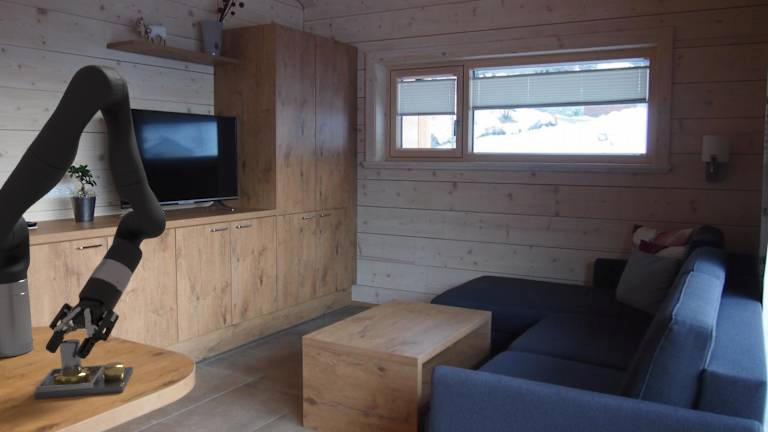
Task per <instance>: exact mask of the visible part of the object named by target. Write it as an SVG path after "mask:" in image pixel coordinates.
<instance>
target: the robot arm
mask: <svg viewBox="0 0 768 432" xmlns="http://www.w3.org/2000/svg"><path fill="white" fill-rule="evenodd" d="M129 93H130V92H129V86H128V83H127V80H126V78H125V76H124V75H123V74H122V72H121V71H119V70H118V69H116V68H115V67H111V66H107V65H100V64H99V65H97V64H89V65H84V66H82V67H81V68H79V69H78V70H76V72H75V73H74V75H73V76H72V78H71V79H70V81H69V83H68V85H67V87H66V89H65V91H64V92H63V94H62V96H61V99H60V101H59V102H58V104H57V106H56V108H55V109H54V111H53V112H52V113H51V115H50V117H49V118H48V119H47V121H46V122H45V124H44V125H43V126H42V128H41V129H40V130H39V132H38V134H37V135H36V136H35V138H34V139H33V140H32V142H31V143H30V145H29V146H28V147H27V149H26V151H25V152H24V153H23V155H22V156H21V158H20V160H19V161H18V163H17V164H16V165H15V167H14V169H13V170H12V172H11V173H10V174H9V176H8V177H7V178H6V180H5V182H4V183H3V184H2V186H1V187H0V358H10V357H15V356H20V355H23V354H26V353H29V352H31V351H32V350H33V349H34V338H33V325H32V314H31V302H30V290H29V279H28V271H29V267H30V264H31V245H30V243H31V242H30V239H31V238H30V231H29V226H28V223H27V221H26V218H25V217H24V214H25V213H26V212H27V211H28V210H29V209H30V208H31V207H33V206H34V205H35V204H36V203H37V202H39V201H40V200H41V199H42V198H44V197H45V196H47V195H48V194H49V193H51V191H52V190H53V189H54V188H55V187H56V186H58V184H59V183H60V182H61V181H62V179H63V178H64V177H65V176H66V174H67V173H68V171H69V170H70V168H71V167H72V165H73V164H74V162H75V159H76V157H77V155H78V151H79V150H78V149H79V145H80V141H81V138H82V137H81V136H82V135H83V132H84V131H85V129H86V128H87V126H88V125H89V124H90V122H91V121H92V119H93V118H94V117H95V116H96V115H97V113H98V112H99V111H100V113H101V116H102V117H103V121H104V123H105V128H106V134H107V158H108V159H107V160H108V166H109V171H110V175H111V179H112V183H113V185H114V188H115V192H116V194H117V196H118V198H119V199H120V200H121V201H124V202H127V203H129V206H130V207H131V209H132V210H130V211H129V212H127V213H125V215H123V217H122V218H121V219H120V221H119V223H118V225H117V227H116V231H115V233H114V236H113V240H112V244H111V245H110V247H109V248H108V249H107V252H106V253H105V254H104V256H103V257H102V259H101V261H100V262H99V263H98V264H97V266H96V267H95V268H94V270H93V271H92V272H91V274H90V276H89V278H88V279H87V280H86V283H84V286H83V287H82V289H81V291H80V292H79V293H78V302H77V303H76V305H74V306H73V305H70V304H69V303H67V302H65V303H64V304H63V305H62V306H61V308H60V310H59V311H58V312H57V314H56V315H55V316H54V318H53V320H52V321H51V322H50V324H49V325H48V327H49V328H50V329H51V330H52V331H53V333H52V335H51V337H50V338H49V339H48V342H47V343H46V346H45V350H46V351H48V352H49V353H52V354H55V353H57V351H58V348H60V343H61V342H62V341H64V339H65V337H66V336H67V335H69V334H70V333H72V332H76V331H77V330H85V331H86V336H87V337H84V339H83V340H82V341H81V343H80V347H79V349H78V350H77V352H76V355H77V356H78V357H80V358H81V360H85V359H87V357H88V356H89V355H90V353H91V352H92V350H93V348H95V347H94V346H95V345H96V344H98V343H99V342H100V341H103V342H106V341H107V340H108V339H109V337H110V335H111V333H112V331H113V329H114V328H115V325H116V324H117V322H118V320H119V317H120V315H119V314H118V313H117V312H115V311H114V309H115V308H116V306H117V304H118V303H119V301H120V299H121V298H122V295H123V294H124V292H125V291H126V290H127V287H128V286H129V284H130V281H131V278H132V277H133V275H134V273H135V271H136V269H138V266H139V265H140V262H141V261H142V259H143V251H142V249H141V244H142V243H143V241H144V240H149V239H150V240H151V239H155V238H158V237H160V236H162V235H163V234H164V232H165V229H166V227H167V217H166V215H165V212H164V210H163V207H162V206H161V204H160V202H159V200H158V199H157V197H156V195H155V193H154V192H153V191H152V189H151V188H150V185H149V181H148V178H147V174H146V171H145V168H144V165H143V161H142V157H141V155H140V151H139V148H138V147H139V146H138V142H137V139H136V132H135V127H134V122H133V115H132V109H131V100H130V94H129ZM59 322H60V323H59ZM64 328H65V329H64Z"/></svg>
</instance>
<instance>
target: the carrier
mask: <svg viewBox="0 0 768 432" xmlns="http://www.w3.org/2000/svg"><path fill="white" fill-rule="evenodd" d="M81 366H82V365H81ZM85 368H87V369H89V371H91V379H90V380H86V381H85V383H79V384H66V385H55V383H54V375H55V374H59V373H61V372H60V371H62V367H59V368H58V367H57V368H55V367H54V368H51V370H49V372H48V373H47V374H46V375H45V376H44V377H43V379H42V380H41V381H40V383H38V385H37V386H36V387H35V393H34V399H35V400H42V399H43V400H44V399H55V398H57V399H58V398H68V397H79V396H82V397H83V396H95V395H104V394H105V395H107V394H117V393H118V394H119V393H123V392H124V391H125V389H126V387H127V385H128V383H129V381H130V379H131V377H132V375H133V373H134V368H133V366H125V363H124V362H121V361H115V362H109V363H105V364H98V365H85V366H84V365H83V366H82V369H85Z"/></svg>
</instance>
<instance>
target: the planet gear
mask: <svg viewBox="0 0 768 432" xmlns="http://www.w3.org/2000/svg"><path fill="white" fill-rule="evenodd" d="M80 345H81V341H80V340H79V339H75V338H73V339H67V340H63V341H62V342H61V343H60V346H59V350H60V361H61V368H62V371H60V372H61V373H59V374H55V375H54V383H55V385H66V384H79V383H85V381H86V380H90V379H91V371H89V369H87V368H85V369H82V359H81V358H80V357H78V356H77V355H76V352H77V350H78V349H79V347H80Z"/></svg>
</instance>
